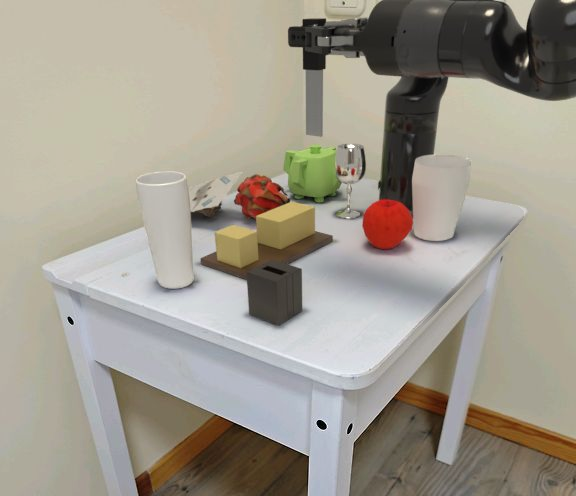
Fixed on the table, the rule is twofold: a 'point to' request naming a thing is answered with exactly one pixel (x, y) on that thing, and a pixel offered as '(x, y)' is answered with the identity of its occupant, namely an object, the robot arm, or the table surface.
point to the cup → (438, 194)
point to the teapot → (312, 172)
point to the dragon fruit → (259, 196)
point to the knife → (314, 84)
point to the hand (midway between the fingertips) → (295, 36)
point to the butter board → (271, 254)
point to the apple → (386, 223)
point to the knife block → (274, 291)
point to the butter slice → (236, 246)
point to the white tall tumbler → (167, 225)
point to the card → (210, 194)
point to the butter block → (285, 225)
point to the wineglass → (349, 171)
